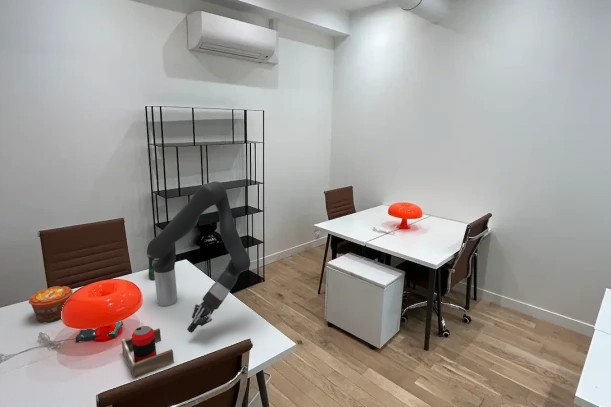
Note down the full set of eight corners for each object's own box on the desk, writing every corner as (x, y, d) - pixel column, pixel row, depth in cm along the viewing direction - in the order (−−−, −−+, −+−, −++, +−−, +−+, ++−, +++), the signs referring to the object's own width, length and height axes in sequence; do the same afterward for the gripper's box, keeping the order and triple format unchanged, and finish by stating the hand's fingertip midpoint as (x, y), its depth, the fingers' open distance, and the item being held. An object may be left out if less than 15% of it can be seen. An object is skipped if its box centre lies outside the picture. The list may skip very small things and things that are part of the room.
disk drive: (76, 344, 139) (116, 339, 142) (74, 338, 138) (115, 333, 142) (85, 329, 149) (123, 324, 152) (84, 323, 148) (122, 319, 151)
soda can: (146, 349, 136) (143, 322, 133) (161, 355, 133) (158, 327, 130) (129, 361, 129) (126, 333, 126) (145, 367, 126) (141, 338, 123)
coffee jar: (148, 281, 190) (145, 249, 186) (149, 275, 198) (145, 244, 193) (167, 278, 194) (164, 247, 190) (167, 272, 201) (164, 242, 197)
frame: (123, 352, 134) (121, 339, 132) (160, 338, 142) (158, 326, 141) (133, 378, 121) (131, 365, 119) (173, 362, 129) (172, 349, 127)
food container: (35, 311, 161) (31, 290, 158) (76, 302, 169) (73, 282, 166) (29, 329, 147) (24, 306, 145) (74, 318, 155) (70, 297, 152)
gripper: (203, 284, 147) (176, 320, 143) (216, 297, 137) (188, 336, 133) (216, 292, 151) (190, 327, 147) (229, 305, 141) (202, 343, 137)
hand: (189, 331), depth 140 cm, fingers closed
